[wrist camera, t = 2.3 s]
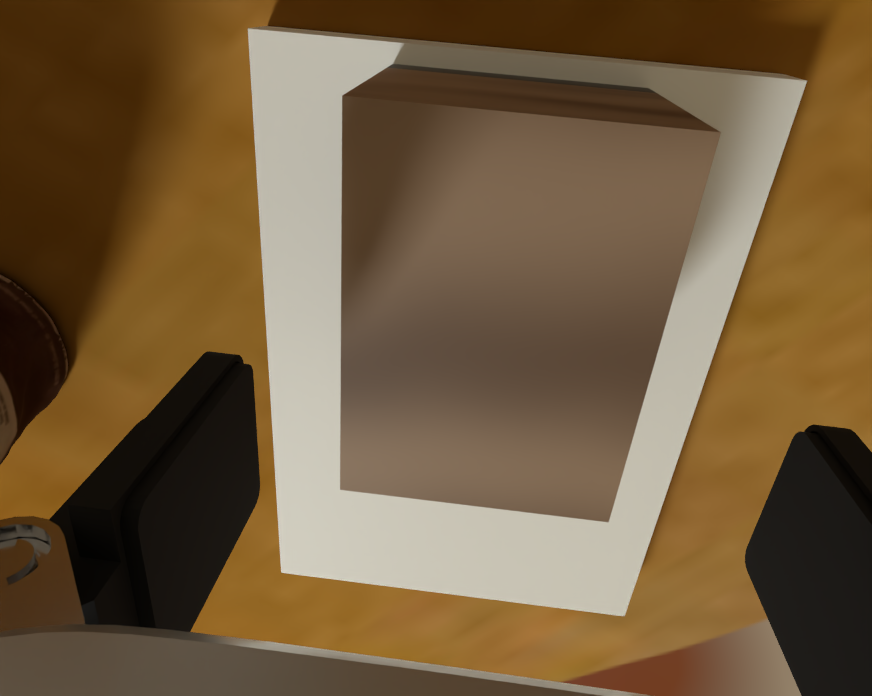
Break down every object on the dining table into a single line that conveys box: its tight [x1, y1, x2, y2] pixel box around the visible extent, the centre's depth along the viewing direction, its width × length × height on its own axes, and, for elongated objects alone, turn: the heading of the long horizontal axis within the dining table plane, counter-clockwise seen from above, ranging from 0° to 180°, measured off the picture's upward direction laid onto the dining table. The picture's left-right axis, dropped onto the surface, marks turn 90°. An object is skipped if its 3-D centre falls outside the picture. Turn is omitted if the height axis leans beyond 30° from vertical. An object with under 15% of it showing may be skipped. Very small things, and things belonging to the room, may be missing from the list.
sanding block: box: [340, 64, 721, 522], centre depth 16 cm, size 9×6×6 cm
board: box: [248, 26, 807, 616], centre depth 21 cm, size 20×14×2 cm
